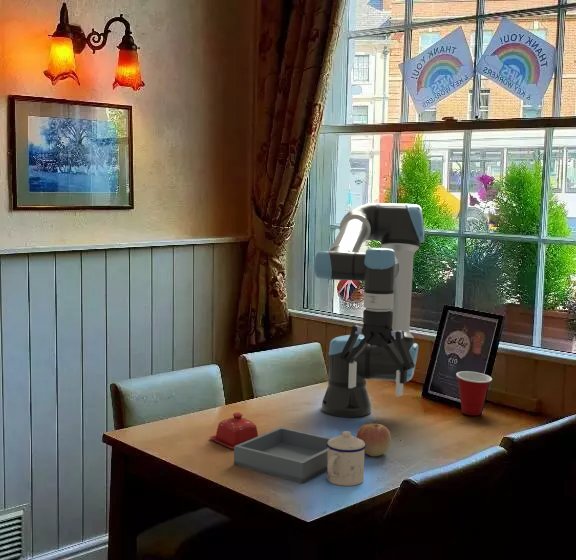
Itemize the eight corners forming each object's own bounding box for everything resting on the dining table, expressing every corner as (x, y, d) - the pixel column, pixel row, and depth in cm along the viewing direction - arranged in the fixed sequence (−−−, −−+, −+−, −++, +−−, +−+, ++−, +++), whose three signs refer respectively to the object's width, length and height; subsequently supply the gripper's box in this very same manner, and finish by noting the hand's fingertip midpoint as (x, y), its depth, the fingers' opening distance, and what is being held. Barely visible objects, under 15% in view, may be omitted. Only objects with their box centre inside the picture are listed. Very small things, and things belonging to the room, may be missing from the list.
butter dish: (267, 445, 217) (268, 414, 216) (232, 453, 210) (233, 421, 209) (241, 434, 226) (241, 404, 225) (207, 442, 219) (207, 411, 218)
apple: (367, 461, 205) (368, 430, 204) (350, 450, 213) (351, 421, 212) (396, 457, 209) (397, 427, 208) (378, 447, 217) (379, 417, 216)
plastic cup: (479, 420, 244) (481, 381, 242) (447, 413, 251) (449, 374, 250) (496, 413, 252) (498, 375, 251) (465, 406, 259) (467, 369, 258)
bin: (233, 465, 200) (234, 446, 200) (280, 445, 217) (280, 427, 216) (302, 484, 189) (302, 463, 188) (345, 460, 205) (346, 441, 205)
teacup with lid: (338, 470, 199) (339, 423, 197) (371, 478, 193) (373, 430, 192) (311, 484, 189) (312, 435, 187) (345, 493, 184) (347, 443, 182)
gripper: (328, 306, 211) (326, 386, 213) (416, 316, 197) (413, 402, 199) (343, 303, 217) (340, 381, 219) (429, 312, 203) (426, 396, 205)
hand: (375, 391), depth 209 cm, fingers open, 13 cm apart
